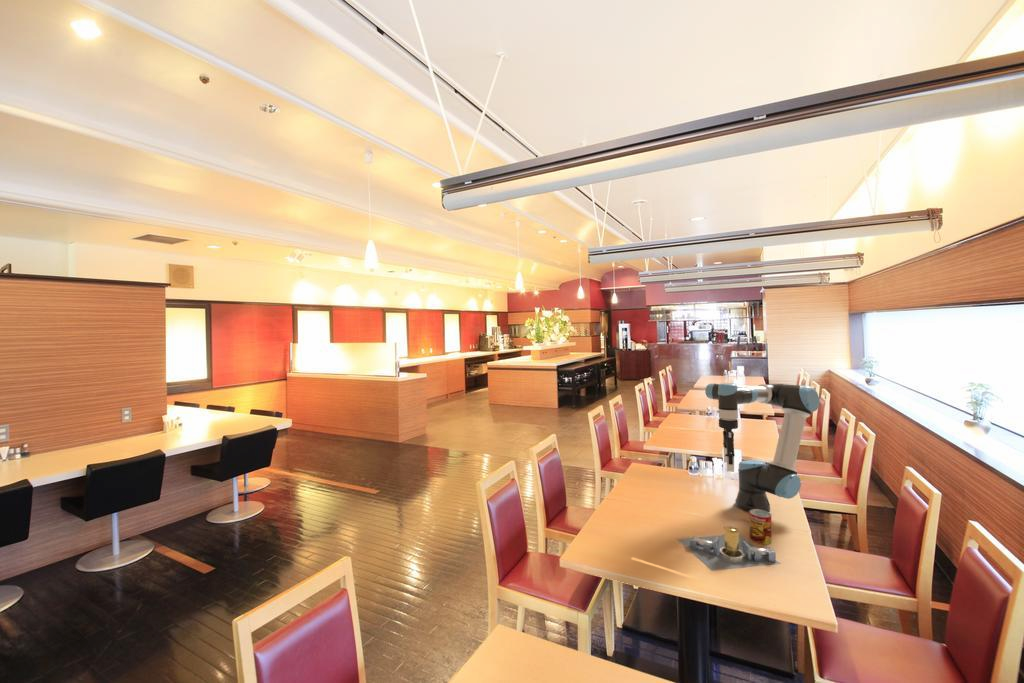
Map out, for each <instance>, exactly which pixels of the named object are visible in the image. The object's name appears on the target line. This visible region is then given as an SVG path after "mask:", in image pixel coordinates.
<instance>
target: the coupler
mask: <svg viewBox="0 0 1024 683" xmlns="http://www.w3.org/2000/svg"><path fill="white" fill-rule="evenodd" d="M723 531H724V535H725V554H726V555H729V556H732V557H739V535H740V533H739V532H740V531H739V528H737V527H735V526H730V525H727V526H724V530H723Z"/></svg>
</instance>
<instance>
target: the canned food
mask: <svg viewBox="0 0 1024 683" xmlns="http://www.w3.org/2000/svg"><path fill="white" fill-rule="evenodd" d="M772 533H773V532H772V513H770V511H769V512H767V511H765V510H760V509H752V510H750V512H749V538H750V540H751V541H753V542H755V543H758V544H761V545H770V544H772V543H773V542H772V541H773V539H772Z"/></svg>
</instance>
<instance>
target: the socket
mask: <svg viewBox="0 0 1024 683" xmlns="http://www.w3.org/2000/svg"><path fill="white" fill-rule="evenodd" d="M724 553H725V547H722V548H720V557H721V558H722V559H723V560H725V561H728V562H731V563H743V562H744V561H745V555H744V553H743V552H742V551H741V550H739V556H740V557H732V556H729V555H726V554H724Z"/></svg>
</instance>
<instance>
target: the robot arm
mask: <svg viewBox="0 0 1024 683" xmlns="http://www.w3.org/2000/svg"><path fill="white" fill-rule="evenodd" d="M704 393H705V395H706V397H707V398H708V399H711V400H714V401H715V400H716V401H717V402H718V410H717V411H716V413H717V414H718V428H721V429H723V431H722V435H723V436H722V437H723V441H722V442H723V443H722V445H723V463H726V472H728V473H729V472H731V473H735V455H736V454H735V446H734V445H735V444H734V442H735V439H734V436H735V434H734V431H732V430H737V429H738V427H739V423H738V422H739V420H738V419H739V411H738V410H739V409H738V406H739V405H744V404H751V403H754V402H758V403H760V404H765V405H766V404H767V405H773V406H776V407H780V408H781V410H782V412H783V413H784V415H783V419H782V424H781V428H780V431H779V435H778V439H777V444H776V448H775V452H774V457H773V460H772V461H770V462H768V466H767V464H766V462H765V461H763V460H753V459H750V460H749V459H747V460H742V461H739V464H738V492H737V495H736V498H735V501H734V502H735V503H734V504H735V506H736V508H738V509H739V510H742V511H745V512H749V513H750V510H752V509H760V510H765V511H767V512H769V513H770V512H771V504H770V501H769V498H768V496H767V493H768V494H771V495H774V496H777V497H778V498H784V499H788V500H789V499H793V498H794V497H796V496H797V494H799V492H800V490H801V487H802V481H801V478H800V476H798V470H797V469H796V463H797V459H798V458H797V457H798V455H799V454H798V453H799V449H800V445H801V441H802V435H803V432H804V427H805V424H806V423H805V422H806V419H807V418H809V417H811V415H812V413H813V412H816V411H818V409H819V407H820V396H819V393H818V391H817V390H816V389H815V388H814V387H812V386H806V385H803V384H802V385H800V384H799V385H798V384H787V383H769V384H758V385H745V384H744V385H742V384H739V385H738V384H736V383H728V382H725V383H724V382H723V383H708V384H707V385H706V387H705V392H704Z"/></svg>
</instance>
